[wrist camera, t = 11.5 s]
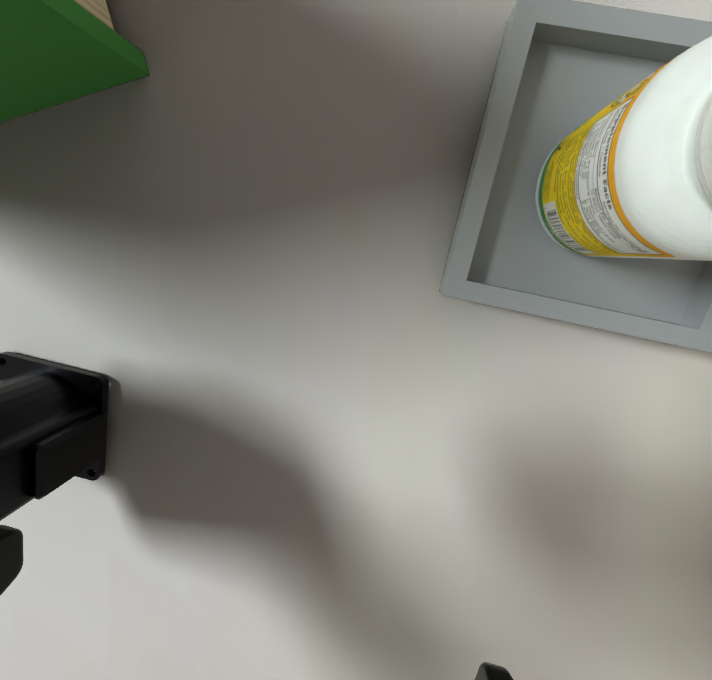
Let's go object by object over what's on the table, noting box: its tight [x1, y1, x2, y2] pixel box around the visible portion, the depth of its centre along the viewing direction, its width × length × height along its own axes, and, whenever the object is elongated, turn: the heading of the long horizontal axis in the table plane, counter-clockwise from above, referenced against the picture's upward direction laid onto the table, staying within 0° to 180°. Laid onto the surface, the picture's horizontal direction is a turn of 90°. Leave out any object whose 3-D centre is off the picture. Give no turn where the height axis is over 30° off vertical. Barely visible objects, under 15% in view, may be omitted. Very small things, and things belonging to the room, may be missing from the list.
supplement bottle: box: [535, 36, 712, 261], centre depth 11 cm, size 5×5×10 cm
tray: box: [439, 0, 712, 353], centre depth 16 cm, size 11×11×2 cm
